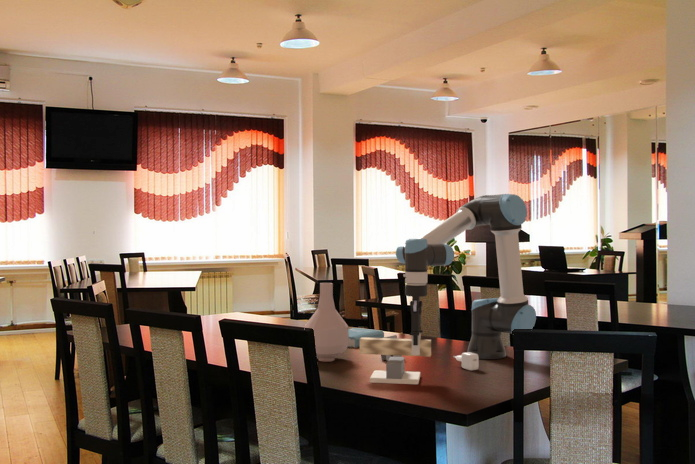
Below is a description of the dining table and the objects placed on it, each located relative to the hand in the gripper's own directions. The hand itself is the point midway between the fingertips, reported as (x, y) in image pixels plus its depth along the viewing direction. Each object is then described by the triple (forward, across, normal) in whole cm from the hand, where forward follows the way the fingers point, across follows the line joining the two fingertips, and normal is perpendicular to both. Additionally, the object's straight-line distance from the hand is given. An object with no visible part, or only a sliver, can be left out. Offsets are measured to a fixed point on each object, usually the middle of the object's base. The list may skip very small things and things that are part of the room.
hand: (416, 353), depth 218 cm
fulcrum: (+9, 0, -7) cm, 12 cm away
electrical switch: (+9, -34, -13) cm, 37 cm away
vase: (+9, -29, -37) cm, 48 cm away
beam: (+1, 0, -7) cm, 7 cm away
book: (+10, -69, -32) cm, 77 cm away
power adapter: (+9, -23, +17) cm, 30 cm away
